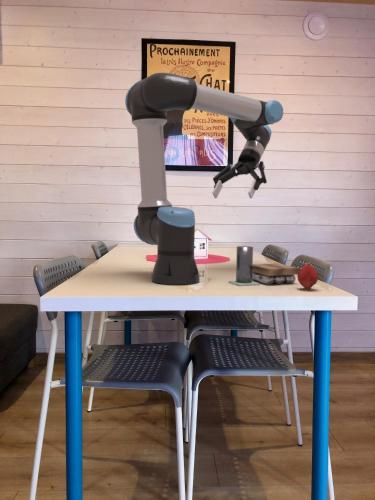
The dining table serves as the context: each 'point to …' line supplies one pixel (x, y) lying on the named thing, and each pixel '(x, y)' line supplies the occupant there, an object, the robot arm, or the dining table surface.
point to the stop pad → (244, 283)
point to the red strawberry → (307, 276)
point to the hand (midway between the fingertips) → (231, 195)
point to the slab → (274, 269)
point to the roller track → (273, 278)
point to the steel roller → (244, 264)
